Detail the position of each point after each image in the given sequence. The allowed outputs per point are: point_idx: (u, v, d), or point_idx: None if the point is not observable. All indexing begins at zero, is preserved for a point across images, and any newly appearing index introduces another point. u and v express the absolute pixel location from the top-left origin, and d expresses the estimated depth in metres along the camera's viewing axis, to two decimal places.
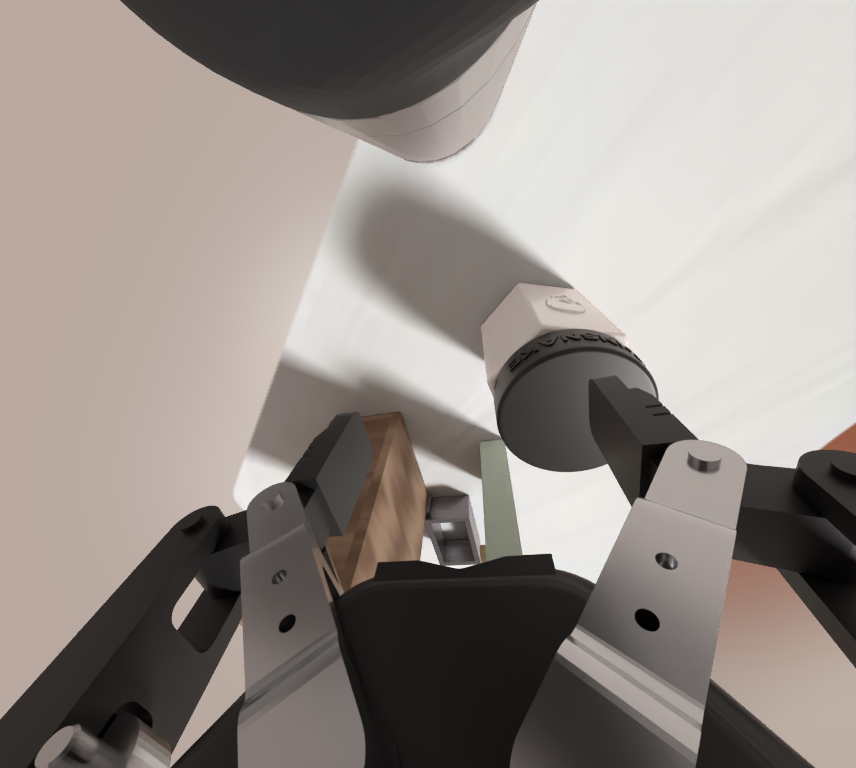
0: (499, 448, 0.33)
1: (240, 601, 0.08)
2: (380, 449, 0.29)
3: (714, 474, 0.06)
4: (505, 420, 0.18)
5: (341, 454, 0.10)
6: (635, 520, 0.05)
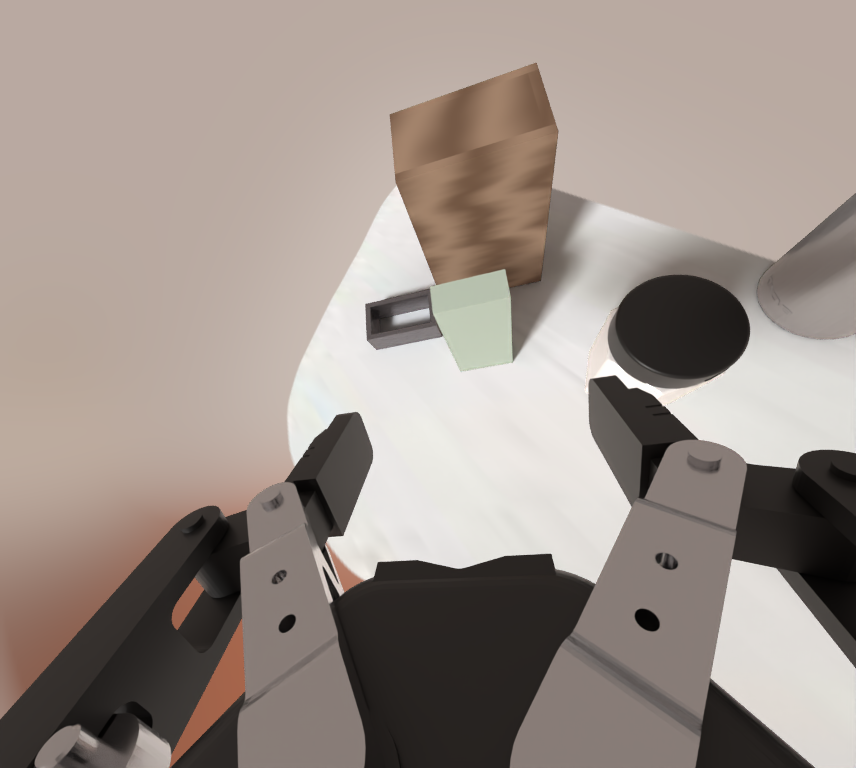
0: None
1: (240, 601, 0.08)
2: None
3: (714, 474, 0.06)
4: (670, 279, 0.24)
5: (341, 454, 0.10)
6: (635, 520, 0.05)
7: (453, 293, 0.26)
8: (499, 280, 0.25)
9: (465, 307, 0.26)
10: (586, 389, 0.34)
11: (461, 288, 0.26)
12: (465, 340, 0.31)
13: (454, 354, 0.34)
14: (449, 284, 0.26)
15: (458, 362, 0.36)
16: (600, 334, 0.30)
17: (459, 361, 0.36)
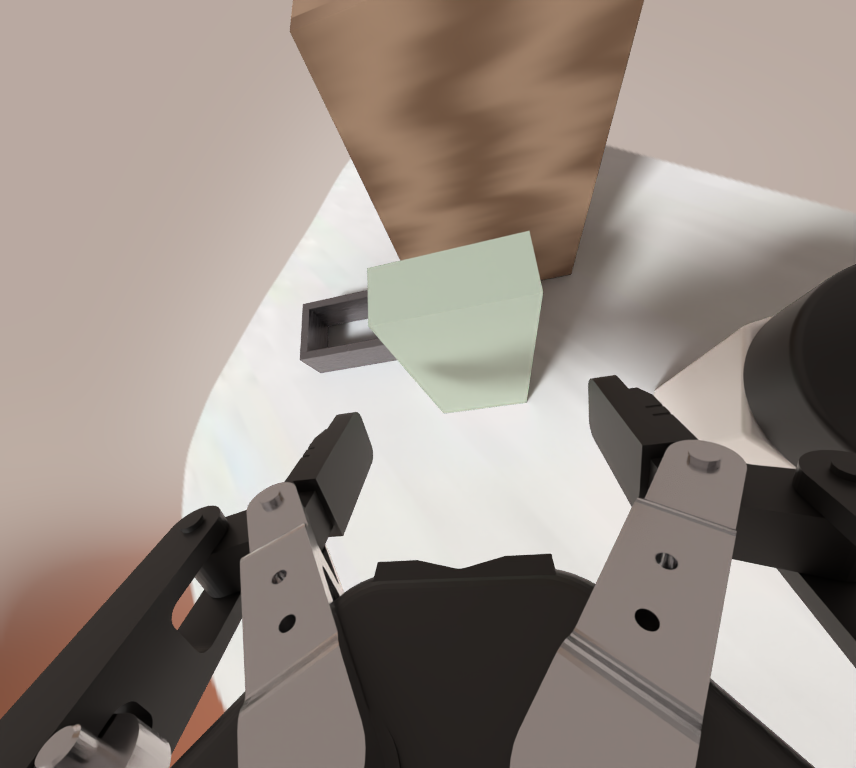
0: None
1: (240, 601, 0.08)
2: None
3: (714, 474, 0.06)
4: None
5: (341, 453, 0.10)
6: (635, 520, 0.05)
7: (414, 283, 0.12)
8: (516, 255, 0.11)
9: (439, 314, 0.11)
10: None
11: (432, 272, 0.12)
12: (445, 374, 0.17)
13: (429, 393, 0.20)
14: (407, 263, 0.12)
15: (438, 403, 0.22)
16: (698, 369, 0.16)
17: (440, 402, 0.22)
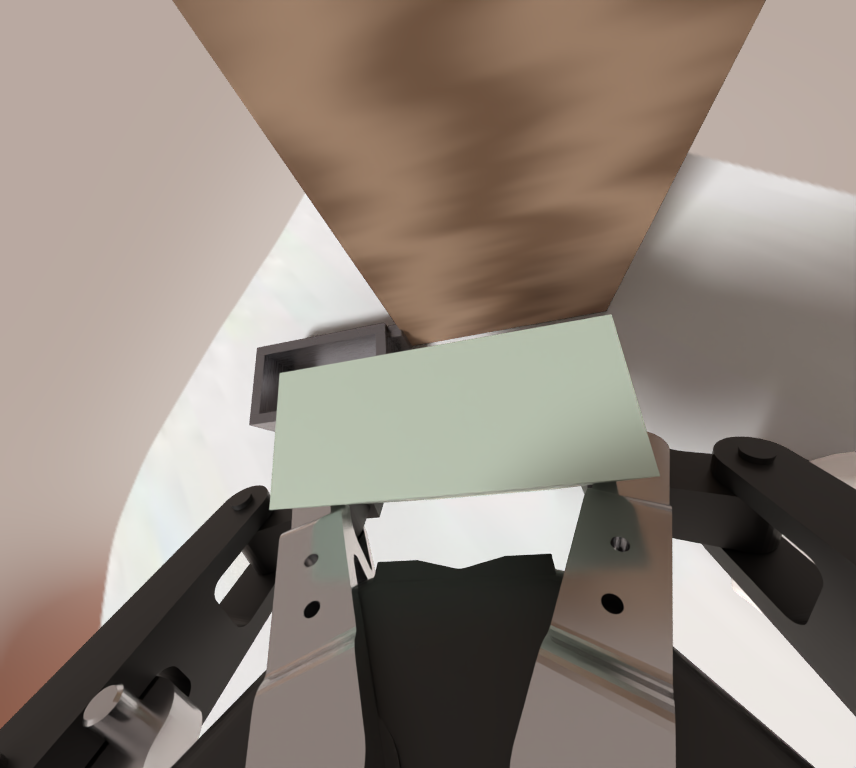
0: None
1: None
2: None
3: None
4: None
5: None
6: (588, 510, 0.05)
7: (367, 416, 0.06)
8: (586, 371, 0.05)
9: (417, 497, 0.05)
10: (745, 594, 0.14)
11: (403, 395, 0.06)
12: None
13: None
14: (355, 370, 0.06)
15: (429, 499, 0.16)
16: None
17: None
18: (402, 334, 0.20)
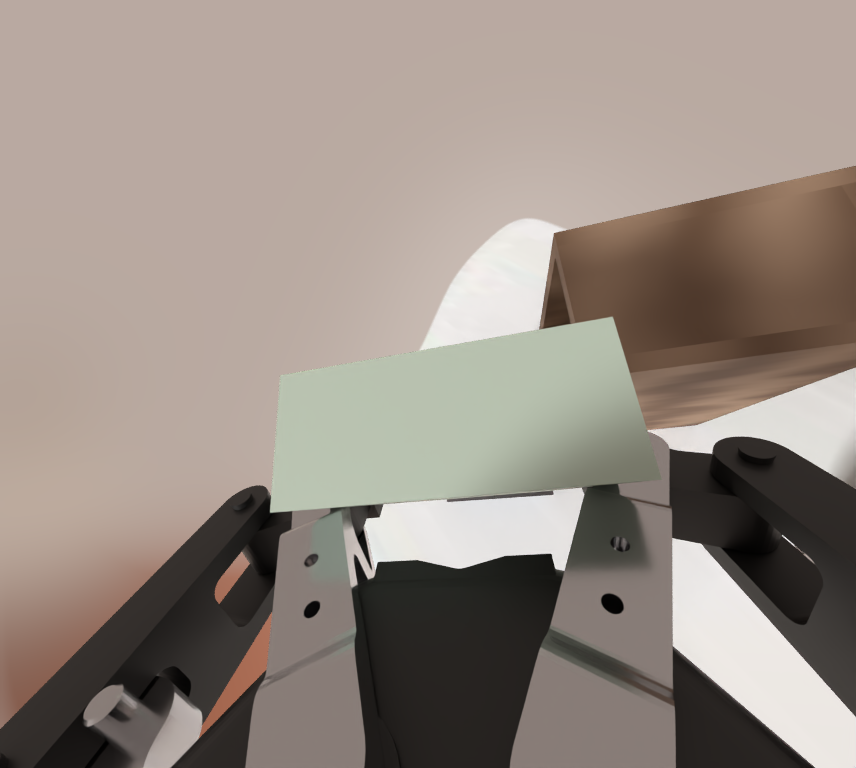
0: None
1: None
2: None
3: None
4: None
5: None
6: (588, 510, 0.05)
7: (367, 418, 0.06)
8: (587, 373, 0.05)
9: (417, 500, 0.05)
10: None
11: (404, 397, 0.06)
12: (439, 499, 0.11)
13: None
14: (356, 372, 0.06)
15: (430, 500, 0.16)
16: None
17: None
18: None
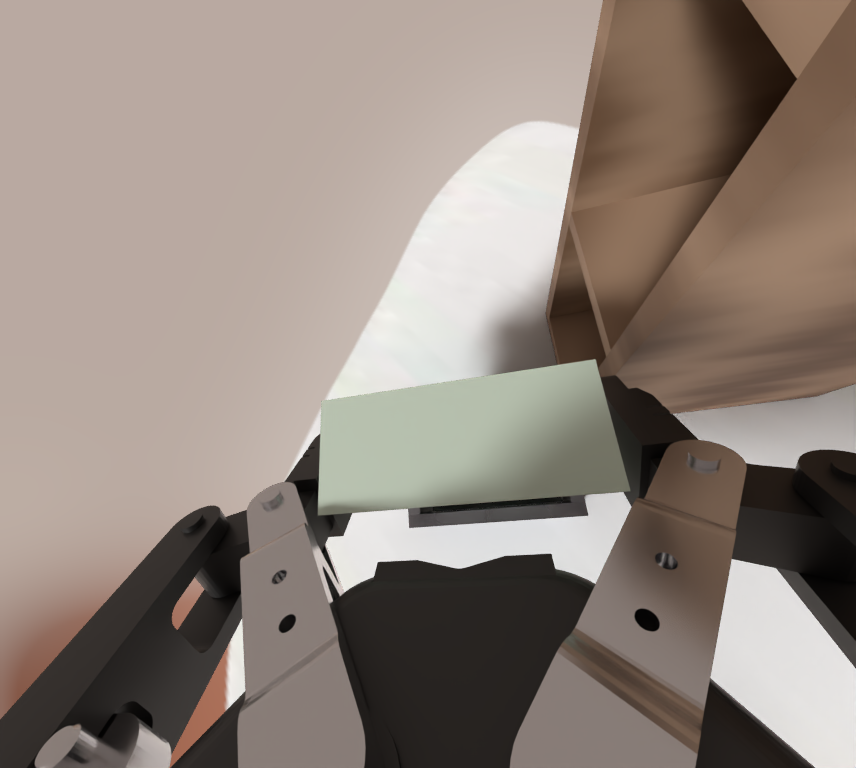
0: None
1: (240, 601, 0.08)
2: None
3: (714, 474, 0.06)
4: None
5: None
6: (635, 520, 0.05)
7: (397, 439, 0.07)
8: (574, 405, 0.06)
9: (438, 505, 0.07)
10: None
11: (426, 422, 0.07)
12: None
13: None
14: (386, 400, 0.07)
15: None
16: None
17: None
18: None
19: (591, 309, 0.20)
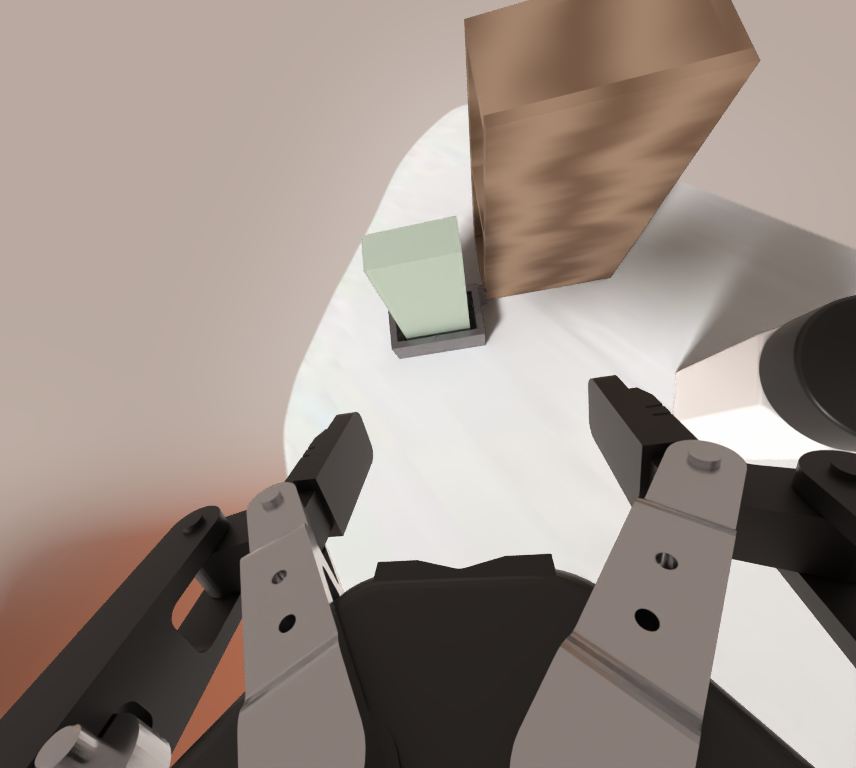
0: None
1: (240, 601, 0.08)
2: None
3: (714, 474, 0.06)
4: None
5: (341, 453, 0.10)
6: (635, 520, 0.05)
7: (390, 245, 0.20)
8: (448, 230, 0.20)
9: (405, 263, 0.20)
10: None
11: (400, 239, 0.20)
12: (411, 309, 0.26)
13: (401, 326, 0.29)
14: (386, 233, 0.21)
15: (407, 336, 0.31)
16: (720, 360, 0.23)
17: (409, 335, 0.31)
18: None
19: None
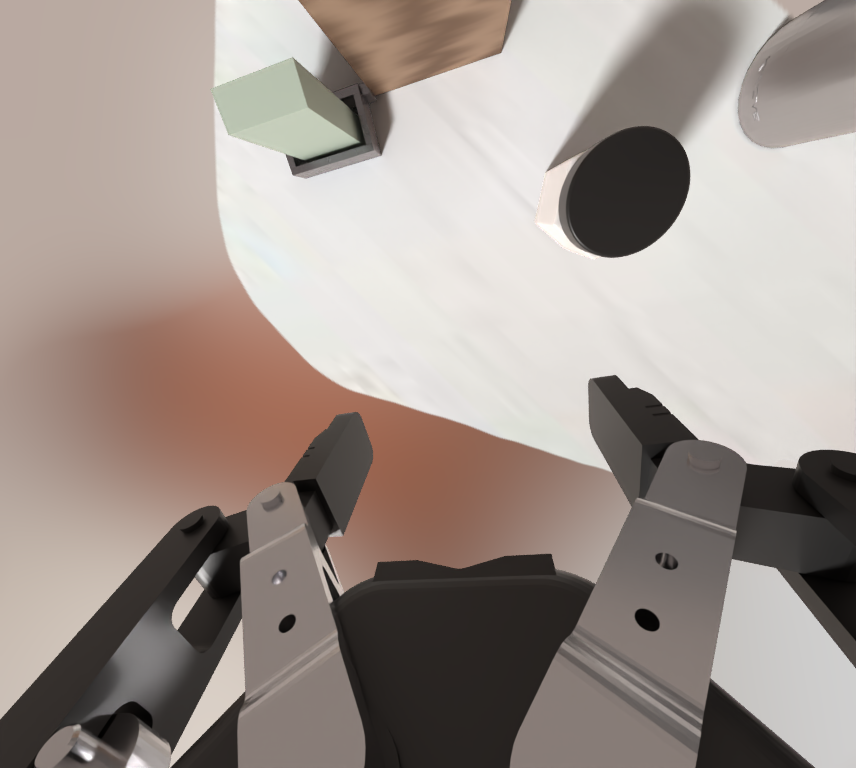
0: (361, 137, 0.32)
1: (240, 601, 0.08)
2: None
3: (714, 474, 0.06)
4: (635, 134, 0.22)
5: (341, 454, 0.10)
6: (635, 520, 0.05)
7: (242, 101, 0.22)
8: (290, 78, 0.21)
9: (262, 124, 0.22)
10: (535, 223, 0.34)
11: (249, 92, 0.21)
12: (292, 144, 0.28)
13: (292, 155, 0.30)
14: (233, 85, 0.21)
15: (303, 158, 0.32)
16: (556, 174, 0.28)
17: (304, 157, 0.32)
18: (370, 91, 0.30)
19: None
